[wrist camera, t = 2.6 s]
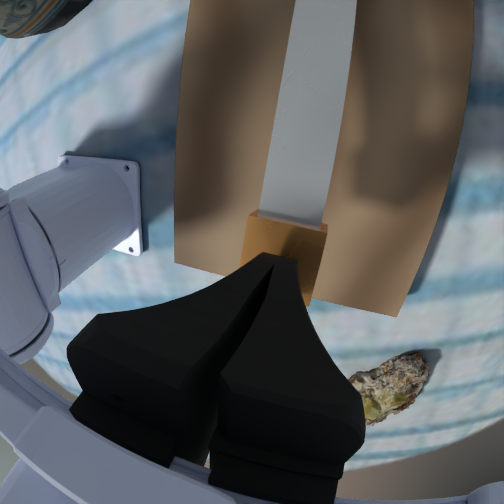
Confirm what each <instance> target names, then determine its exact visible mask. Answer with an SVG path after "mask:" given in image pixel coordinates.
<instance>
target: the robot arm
mask: <svg viewBox="0 0 504 504" xmlns="http://www.w3.org/2000/svg"><path fill="white" fill-rule="evenodd" d="M68 160H69V161H68ZM127 165H128V167H129V170H128V169H127ZM131 247H132V248H133V249H132V248H131ZM112 249H114V250H118V251H121V252H124V253H128V254H131V255H134V256H140V255H141V254H142V253H143V244H142V229H141V209H140V168H139V165H138V163H137V162H135V161H126V160H117V159H106V158H95V157H83V156H69V155H61V156H59V157H58V167H57V168H55V169H52V170H50V171H47V172H45V173H42V174H40V175H38V176H35V177H33V178H31V179H28V180H26V181H24V182H22V183H19V184H17V185H15V186H13V187H12V188H10V189H9V190H7V191H6V190H3V189H1V188H0V435H1V436H2V437H3V438H4V439H5V440H6V441H7V442H8V443H9V444H10V445H11V446H12V447H13V449H14V452H15V453H16V454H17V455H18V456H19V457H20V458H19V459H18V461H17V462H16V464H15V465H14V466H13V468H12V469H11V471H10V472H9V473H8V475H7V476H6V478H5V479H4V481H3V482H2V484H1V485H0V504H504V481H501V482H496V483H491V484H487V485H485V486H482V487H480V488H478V489H476V490H474V491H473V492H471V493H470V494H469V495H465V496H458V497H449V498H439V499H425V500H365V499H351V498H340V497H335V496H336V490H337V485H338V480H339V479H341V478H342V475H343V470H344V463H345V462H347V461H348V460H349V459H350V458H351V457H352V456H353V455H354V454H355V453H356V452H357V451H358V450H359V449H360V448H361V446H362V445H363V443H364V439H365V431H366V425H365V413H364V406H363V400H362V395H361V394H360V393H359V392H358V391H357V389H356V388H355V387H354V386H353V385H352V384H351V383H350V382H349V381H348V379H347V378H346V377H345V376H344V375H343V374H342V373H341V371H340V370H339V369H338V367H337V366H336V365H335V363H334V362H333V360H332V359H331V357H330V355H329V354H328V352H327V351H326V349H325V347H324V346H323V344H322V342H321V341H320V339H319V337H318V335H317V333H316V331H315V329H314V326H313V324H312V322H311V320H310V317H309V315H308V312H307V309H306V306H305V303H304V300H303V296H302V292H301V288H300V284H299V277H298V262H297V260H295V259H291V258H287V257H283V256H278V255H274V254H270V253H266V252H262V253H260V254H258V255H257V256H256V257H254V258H253V259H252V260H250V261H249V262H247V263H246V264H245V265H243V266H242V267H240V268H239V269H237V270H236V271H234V272H233V273H231V274H229V275H228V276H226V277H224V278H223V279H221V280H219V281H217V282H216V283H214V284H212V285H210V286H208V287H206V288H204V289H202V290H199V291H197V292H194V293H192V294H190V295H187V296H184V297H181V298H178V299H175V300H172V301H169V302H166V303H162V304H158V305H154V306H150V307H145V308H140V309H135V310H129V311H121V312H113V313H104V314H97V315H96V316H95V317H94V318H93V319H92V320H91V321H90V322H89V323H88V324H87V325H86V326H85V327H84V328H83V329H82V330H81V331H80V332H79V333H78V335H77V336H76V337H75V338H74V339H73V340H72V341H71V342H70V343H69V345H68V346H67V358H68V361H69V364H70V366H71V368H72V371H73V373H74V375H75V377H76V379H77V381H78V383H79V384H80V386H81V388H82V390H83V391H82V393H81V394H80V395H79V397H78V398H77V399H76V400H75V402H74V403H72V402H70V401H69V400H67V399H66V398H64V397H63V396H61V395H60V394H58V393H57V392H56V391H54V390H53V389H51V388H50V387H48V386H47V385H46V384H44V383H43V382H41V381H40V380H39V379H38V378H36V377H35V376H33V375H32V374H31V373H30V372H28V371H27V370H26V369H25V368H23V367H22V366H21V365H20V364H22V363H24V362H26V361H28V360H29V359H31V358H32V357H34V356H35V355H36V354H37V353H38V352H39V351H40V350H41V349H42V348H43V346H44V345H45V343H46V342H47V340H48V338H49V336H50V335H51V332H52V330H53V326H54V318H53V315H52V313H51V312H52V311H53V310H54V309H56V308H57V307H58V306H59V305H60V304H61V300H60V298H59V292H60V291H61V290H62V289H64V288H65V287H66V286H67V285H68V284H69V283H71V282H72V281H73V280H74V279H75V278H77V277H78V276H79V275H80V274H82V273H83V272H84V271H85V270H86V269H88V268H89V267H90V266H91V265H93V264H94V263H95V262H96V261H98V260H99V259H100V258H102V257H103V256H104V255H105V254H107V253H108V252H109V251H110V250H112ZM209 451H210V469H208V468H206V467H204V465H205V462H206V459H207V457H208V454H209Z"/></svg>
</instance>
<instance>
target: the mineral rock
mask: <svg viewBox="0 0 504 504" xmlns="http://www.w3.org/2000/svg"><path fill="white" fill-rule="evenodd" d="M428 370H429V366H428V362H427V361H425V360H423V361H422V354H421V353H418V352H417V353H414V354H413V355H407V356H406V355H405V354H402V355H398V356H395V357H393V358H391V359H389V360H388V361H387V362H384V363H382V364H381V365H380V367H378V368H376V369H374V370H373V371H370V372H366V373H360V372H358V373H356V374H355V375H353V376H351V377H350V378H349V379H348V381H349V382H350V383H351V384H352V385H353V386H354V387H355V388H356V389H357V391H358V392H359V393H360V394H361V395H362V400H363V406H364V413H365V425H367V426H368V425H372V426H373V425H374V423H378V422H382V421H383V420H385V419H386V416H387V415H389V414H391V413H394V415H395V414H398V413H400V411H403V410H404V409H407V408H409V405H411V404H413V403H414V401H415V398H416V397H417V395H418V394H420V392H421V390H422V389H423V384H424V383H425V382H426V380H427V379H428V376H429V373H428Z"/></svg>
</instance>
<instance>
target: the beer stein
mask: <svg viewBox="0 0 504 504" xmlns="http://www.w3.org/2000/svg"><path fill="white" fill-rule="evenodd" d="M90 2H91V0H0V35H3V36H5V37H7V38H23V37H28V36H32V35H37V34H42V33H47V32H50V31H52V30H55V29H57V28H59V27H62V26H64V25H65V24H67V23H68V22H69V21H70V20H71V19H72V18H73V17H74V16H76V15H77V14H78V13H79V12H80V11H81V10H83V9H84V8H85V7H86V6H88V4H89V3H90Z"/></svg>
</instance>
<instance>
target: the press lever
mask: <svg viewBox="0 0 504 504" xmlns="http://www.w3.org/2000/svg"><path fill="white" fill-rule="evenodd" d="M356 4H357V0H296V1H295V7H294V12H293V18H292V23H291V29H290V35H289V40H288V46H287V52H286V57H285V63H284V69H283V74H282V80H281V86H280V91H279V97H278V103H277V108H276V114H275V120H274V125H273V131H272V137H271V142H270V148H269V154H268V159H267V165H266V171H265V176H264V182H263V188H262V193H261V199H260V205H259V209H257V210H256V211H254V212H252V213H251V214H249V215H248V218H247V224H246V230H245V236H244V242H243V248H242V254H241V260H240V266H239V268H240V267H242V266H243V265H245V264H246V263H247V262H249V261H250V260H252V259H253V258H254V257H256V256H257V255H258V254H260V253H262V252H266V253H270V254H274V255H278V256H283V257H287V258H291V259H295V260H297V262H298V277H299V284H300V288H301V292H302V296H303V300H304V303H305V306H309V305H310V301H311V297H312V294H313V290H314V286H315V282H316V279H317V275H318V271H319V267H320V263H321V259H322V255H323V251H324V247H325V243H326V238H327V234H328V224H325V223H322V218H323V214H324V209H325V204H326V200H327V195H328V190H329V185H330V180H331V175H332V170H333V165H334V159H335V154H336V149H337V143H338V138H339V132H340V126H341V120H342V114H343V108H344V101H345V95H346V88H347V81H348V74H349V67H350V59H351V51H352V43H353V34H354V25H355V15H356Z"/></svg>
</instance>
